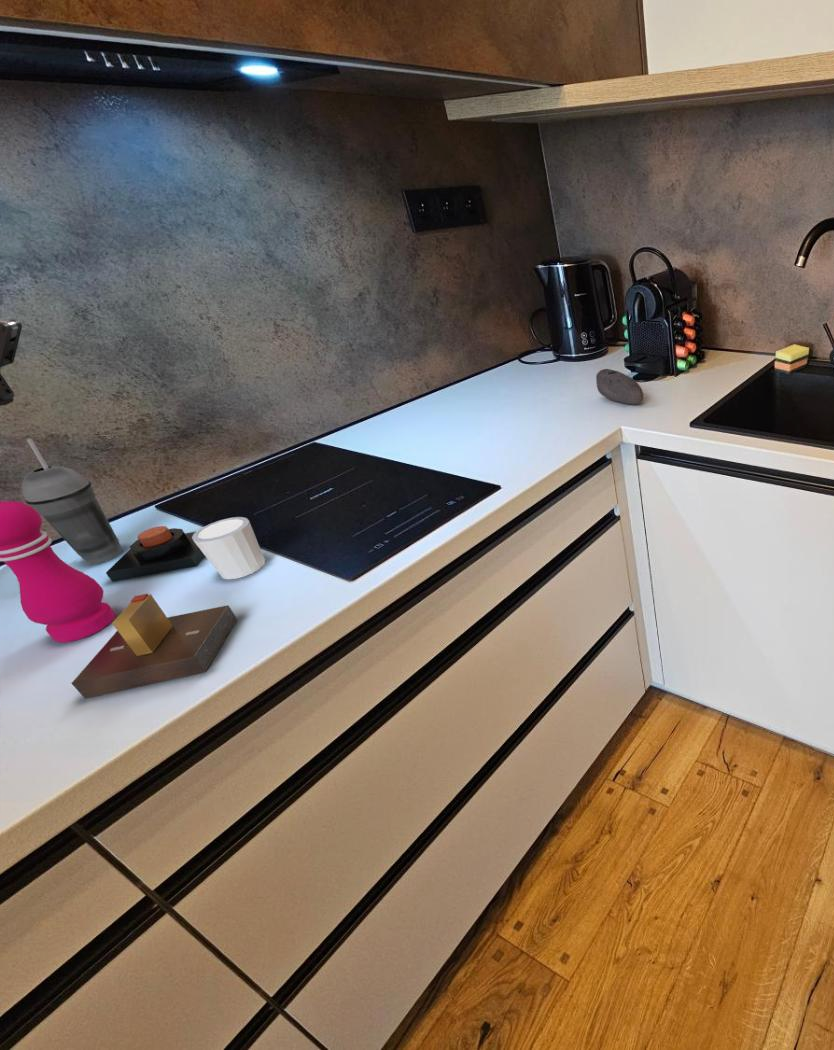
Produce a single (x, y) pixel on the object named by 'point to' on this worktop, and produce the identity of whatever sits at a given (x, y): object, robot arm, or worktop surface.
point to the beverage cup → (71, 510)
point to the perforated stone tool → (619, 387)
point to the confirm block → (157, 557)
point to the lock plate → (158, 654)
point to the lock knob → (143, 624)
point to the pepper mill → (49, 578)
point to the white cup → (230, 547)
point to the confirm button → (154, 536)
